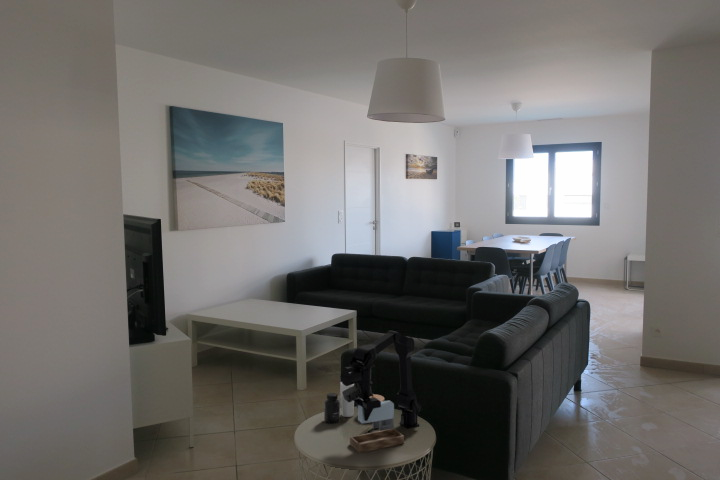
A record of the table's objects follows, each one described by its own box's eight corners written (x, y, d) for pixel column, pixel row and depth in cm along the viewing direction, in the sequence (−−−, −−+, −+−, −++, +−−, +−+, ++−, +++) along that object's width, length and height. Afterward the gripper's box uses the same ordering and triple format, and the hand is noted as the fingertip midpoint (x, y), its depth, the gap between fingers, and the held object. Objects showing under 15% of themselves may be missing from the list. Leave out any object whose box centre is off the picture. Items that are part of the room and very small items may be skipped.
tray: (393, 435, 225) (393, 428, 225) (403, 443, 217) (404, 435, 217) (349, 444, 216) (350, 437, 216) (359, 452, 208) (359, 445, 208)
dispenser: (385, 425, 235) (385, 407, 234) (393, 431, 229) (393, 413, 228) (372, 428, 232) (372, 410, 231) (380, 434, 226) (380, 415, 225)
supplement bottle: (337, 424, 235) (337, 397, 235) (322, 423, 237) (322, 396, 236) (341, 418, 242) (341, 392, 241) (326, 417, 243) (326, 391, 243)
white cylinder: (357, 413, 248) (357, 381, 247) (351, 419, 242) (352, 386, 241) (343, 411, 250) (343, 379, 249) (337, 417, 244) (338, 384, 243)
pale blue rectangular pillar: (389, 414, 221) (389, 400, 221) (393, 418, 217) (394, 403, 217) (357, 419, 215) (358, 405, 215) (362, 423, 212) (362, 408, 211)
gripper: (335, 375, 218) (335, 413, 219) (355, 390, 201) (355, 431, 202) (360, 372, 223) (360, 409, 224) (381, 385, 206) (381, 426, 207)
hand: (363, 418), depth 214 cm, fingers closed on pale blue rectangular pillar, 4 cm apart
